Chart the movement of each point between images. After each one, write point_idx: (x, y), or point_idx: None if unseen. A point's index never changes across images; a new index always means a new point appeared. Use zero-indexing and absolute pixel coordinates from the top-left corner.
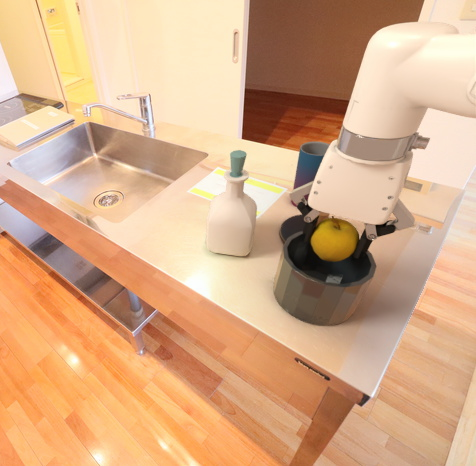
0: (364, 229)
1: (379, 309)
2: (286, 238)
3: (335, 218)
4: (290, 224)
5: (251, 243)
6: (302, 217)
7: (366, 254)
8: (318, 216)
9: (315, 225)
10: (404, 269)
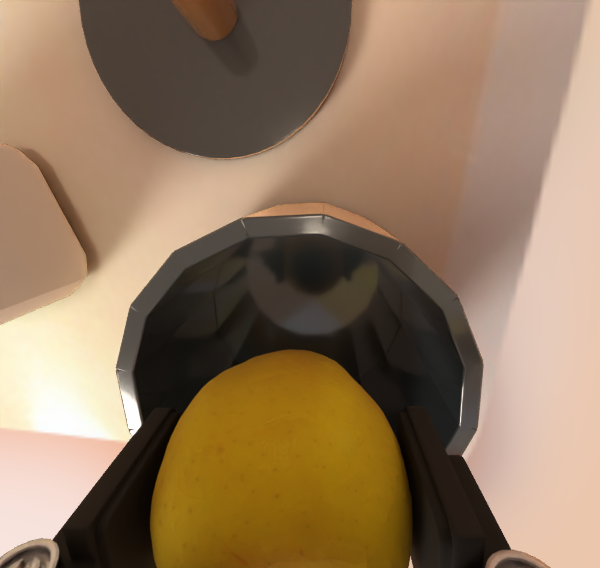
0: (440, 559)
1: (468, 259)
2: (140, 114)
3: (213, 553)
4: (109, 6)
5: (56, 270)
6: None
7: (435, 302)
8: (103, 543)
9: (145, 519)
10: (529, 22)
